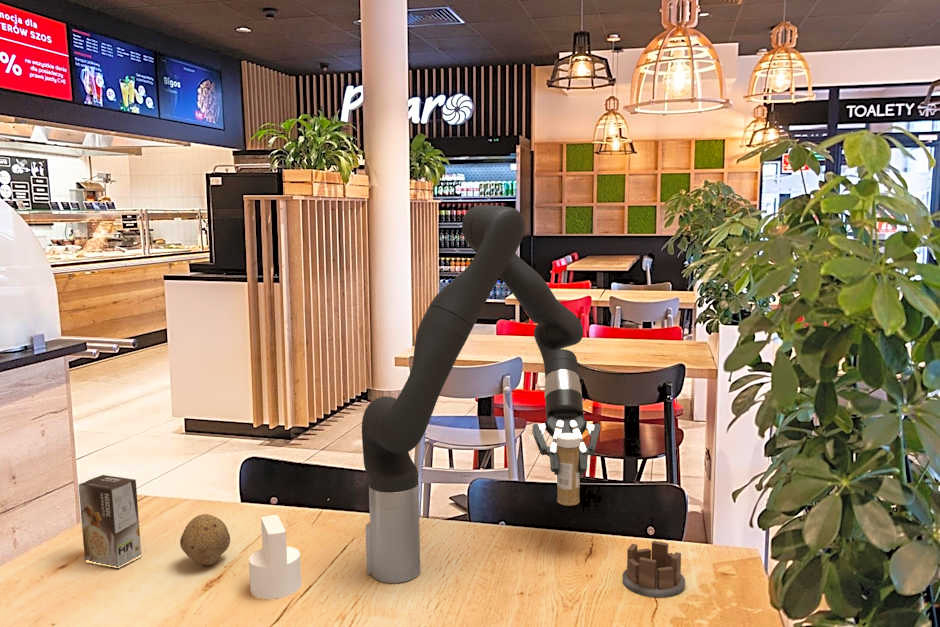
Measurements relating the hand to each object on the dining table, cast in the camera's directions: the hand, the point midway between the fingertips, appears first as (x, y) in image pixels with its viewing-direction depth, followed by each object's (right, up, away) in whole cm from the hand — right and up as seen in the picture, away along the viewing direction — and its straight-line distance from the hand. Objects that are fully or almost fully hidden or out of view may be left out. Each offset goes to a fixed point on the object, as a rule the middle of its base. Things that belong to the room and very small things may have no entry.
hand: (569, 472), depth 149 cm
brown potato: (-70, -18, +2) cm, 73 cm away
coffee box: (-90, -18, +4) cm, 92 cm away
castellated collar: (+14, -18, -8) cm, 25 cm away
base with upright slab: (-54, -19, -8) cm, 58 cm away
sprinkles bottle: (0, -7, +3) cm, 7 cm away
